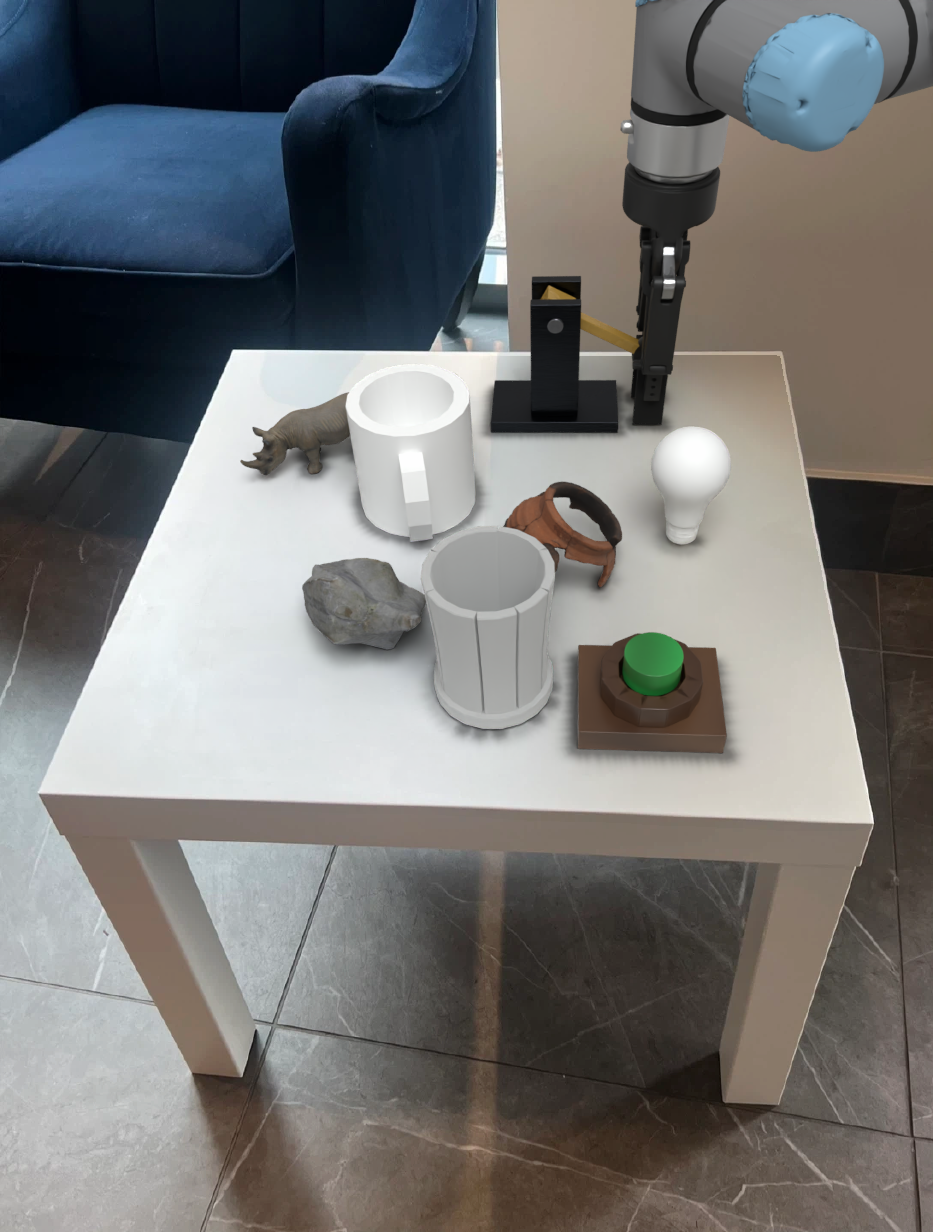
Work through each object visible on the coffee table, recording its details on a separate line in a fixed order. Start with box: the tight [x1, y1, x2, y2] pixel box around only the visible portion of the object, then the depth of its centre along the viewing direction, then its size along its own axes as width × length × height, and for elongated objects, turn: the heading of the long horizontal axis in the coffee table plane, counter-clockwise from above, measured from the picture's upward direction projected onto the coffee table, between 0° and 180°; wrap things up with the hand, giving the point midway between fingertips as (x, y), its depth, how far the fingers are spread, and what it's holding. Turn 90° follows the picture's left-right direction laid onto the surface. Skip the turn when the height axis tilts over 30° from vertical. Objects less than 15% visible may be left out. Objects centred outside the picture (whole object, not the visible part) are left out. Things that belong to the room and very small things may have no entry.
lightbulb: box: [650, 425, 732, 545], centre depth 80 cm, size 6×6×11 cm
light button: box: [622, 631, 684, 696], centre depth 69 cm, size 4×4×2 cm
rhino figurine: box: [239, 391, 351, 477], centre depth 92 cm, size 4×14×6 cm, turn 118°
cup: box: [420, 525, 556, 730], centre depth 71 cm, size 10×9×12 cm
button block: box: [577, 632, 728, 754], centre depth 71 cm, size 10×8×4 cm
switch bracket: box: [490, 275, 619, 434], centre depth 93 cm, size 12×7×13 cm, turn 86°
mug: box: [346, 363, 476, 543], centre depth 85 cm, size 14×10×11 cm
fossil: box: [301, 557, 427, 650], centre depth 76 cm, size 11×9×8 cm
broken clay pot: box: [502, 481, 623, 588], centre depth 80 cm, size 12×10×8 cm
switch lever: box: [540, 286, 643, 362], centre depth 91 cm, size 13×4×4 cm, turn 85°
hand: (645, 408), depth 97 cm, fingers closed on switch lever, 4 cm apart
